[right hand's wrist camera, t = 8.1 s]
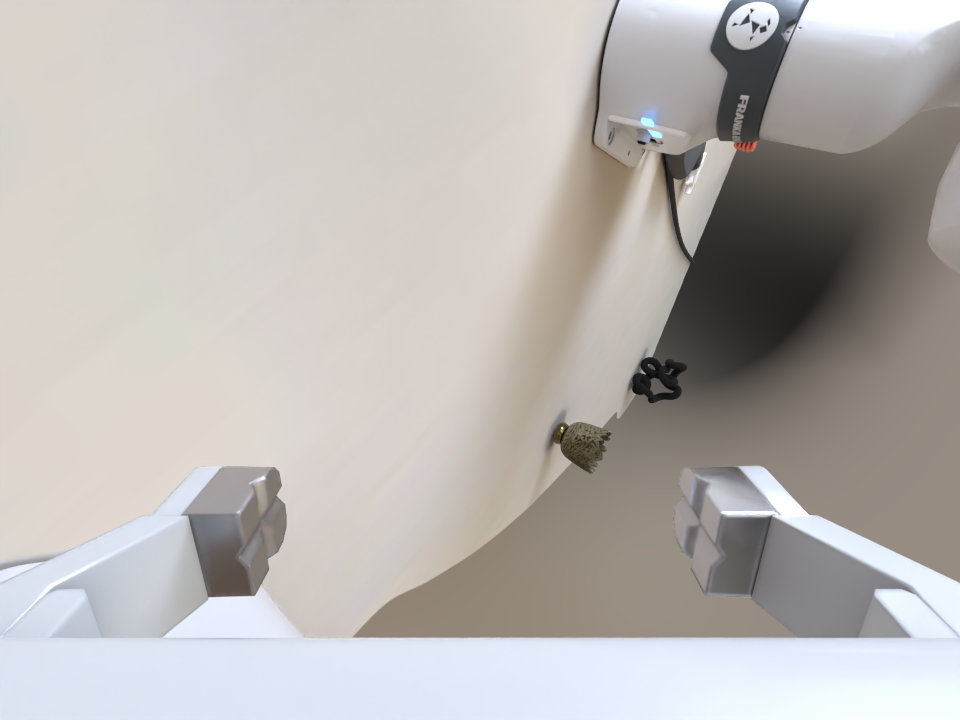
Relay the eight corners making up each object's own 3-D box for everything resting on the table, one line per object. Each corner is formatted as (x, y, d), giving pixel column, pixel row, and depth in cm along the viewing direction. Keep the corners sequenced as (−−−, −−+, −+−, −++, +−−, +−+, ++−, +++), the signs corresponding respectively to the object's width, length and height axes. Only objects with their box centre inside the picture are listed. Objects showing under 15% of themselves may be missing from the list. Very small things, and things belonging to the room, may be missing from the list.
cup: (554, 418, 81) (601, 441, 77) (571, 405, 87) (616, 425, 83) (541, 458, 83) (586, 482, 80) (558, 442, 90) (601, 463, 86)
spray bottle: (690, 80, 72) (699, 141, 94) (659, 159, 74) (676, 200, 96) (711, 83, 71) (716, 144, 93) (679, 163, 73) (691, 204, 95)
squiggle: (615, 369, 138) (662, 335, 132) (637, 389, 143) (683, 356, 137) (628, 398, 129) (679, 361, 123) (651, 417, 134) (701, 383, 128)
